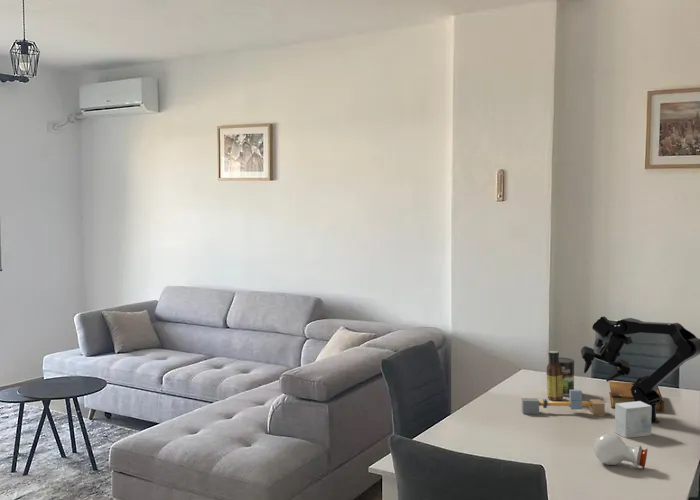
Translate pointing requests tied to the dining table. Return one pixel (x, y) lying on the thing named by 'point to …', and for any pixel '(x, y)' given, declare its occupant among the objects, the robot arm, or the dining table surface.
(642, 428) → the skincare box
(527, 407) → the rail
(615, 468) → the dining table surface
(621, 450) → the potion bottle
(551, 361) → the sauce bottle
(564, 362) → the coffee can
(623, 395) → the diary
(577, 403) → the notched blue-grey block
